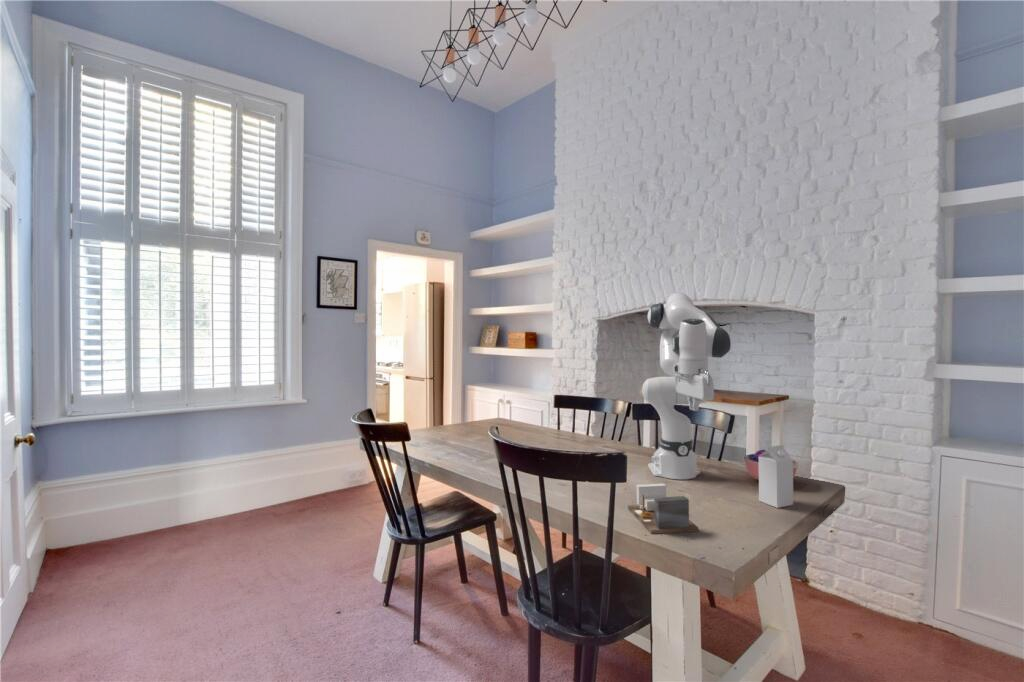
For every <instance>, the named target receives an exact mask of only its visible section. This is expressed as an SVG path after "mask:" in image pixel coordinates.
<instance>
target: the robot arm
mask: <svg viewBox="0 0 1024 682" xmlns="http://www.w3.org/2000/svg"><path fill="white" fill-rule="evenodd" d="M646 316H647V321H648V323H649V326H650V327H651V328H653V329H662V330H664V331H663V332H662V333H661V336H660V339H659V341H660V342H659V366H660V368H661V370H662V371H663V373H665V374H666V375H669V376H655V377H649V378H647V379H645V381H644V382H643V384H642V386H641V387H642V388H641V393H642V396H643V398H644V400H645V401H646V402H647V403H649V404H650V405H651V406H652V407H653V408H654V409H655V411H656V412H657V414H658V416H659V418H660V425H661V438H660V442H659V448H658V449H657V450H656V451H655V452H654V453H653V455H651V462H650V463H648V464H647V466H648V468H649V470H650V471H651V473H652V475H653V476H655V477H661V478H665V479H671V480H691V479H695V478H696V477H697V476H699V475H701V470H699V469H698V464H697V455H696V452H694V451H693V449H694V448H693V447H694V446H693V445H694V442H693V439H692V422H691V419H690V418H689V417H688V416H687V415H685V414H683V413H681V412H679V411H677V410H676V409H675V405H688V406H689V410H690V411H693V412H698V411H699V410H700V409H699V408H700V405H701V404H705V403H707V402H708V401H713V400H714V397H715V388H714V387H715V386H714V380H713V377H712V376H711V374H710V373H709V358H719V359H720V358H723V357H724V356H726V355H727V354H728V353H729V352H730V350H731V346H732V345H731V343H732V342H731V337H730V334H729V333H728V331H727V330H725V329H724V328H723V327H721V326H720V325H719V324H718V322H717V321H716V320H715V319H714V318H713V316H711V315H710V314H709V313H708V312H706V311H704V310H702V308H701V307H700V306H698V305H696V304H694V302H693V300H692V299H691V297H690V296H688V295H687V294H686V293H684V292H679V291H678V292H674V293H672V294H671V295H669V296H668V298H667V300H666V303H661V302H659V303H656V304H653V305H651V306H650V307H649V309H648V312H647V315H646Z"/></svg>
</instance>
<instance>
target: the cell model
mask: <svg viewBox="0 0 1024 682" xmlns="http://www.w3.org/2000/svg"><path fill="white" fill-rule="evenodd" d="M765 451H767V449H760V450H757V451H756V452H755V453H751V454H746V455H743V457H741V458H742V461H743V463H744V467H745V469H746V471H747V473H748V474H749V475H750V476H751V477H752V478H753V479H755V480H756V481H759V456H760V455H761V454H763V453H764V452H765ZM798 467H799V463H798V462H797V461H796V460H794V459H793V479H794V478H795V476H796V474H797V470H798Z"/></svg>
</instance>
